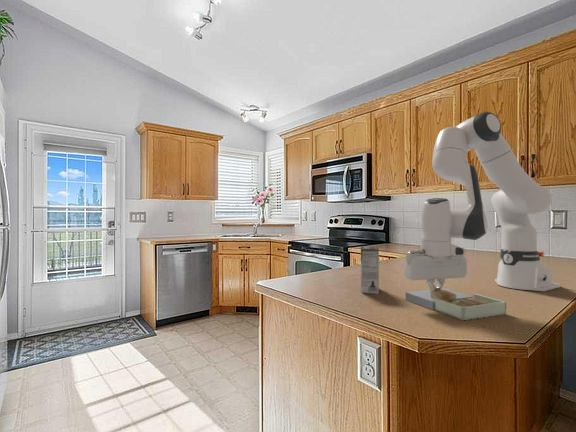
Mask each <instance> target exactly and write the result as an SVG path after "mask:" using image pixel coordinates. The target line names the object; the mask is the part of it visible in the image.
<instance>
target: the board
mask: <svg viewBox="0 0 576 432" xmlns="http://www.w3.org/2000/svg"><path fill="white" fill-rule="evenodd" d="M442 290H446V291H449V292H451V293H454V294H456V301H457V300H461V299H468V298H473V296H471V295H468V294H465V293H461V292H458V291H454V290H451V289H447V288H445V287H444V288H443V287H442ZM405 300H406V301H407V302H410V303H413V304H416V305H418V306H421V307H424V308H426V307H427V309H429V308H430V309H429V310H432V311H435V310H434V298H432V297H431V292H430V289H424V290H415V291H414V290H413V291H406V292H405Z"/></svg>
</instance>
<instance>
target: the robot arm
mask: <svg viewBox="0 0 576 432" xmlns="http://www.w3.org/2000/svg"><path fill="white" fill-rule="evenodd" d="M501 131H502V124H501V121H500V118H499V117H498V116H497V115H496V114H494V113H492V112H490V111H484V112H480V113H478V114H476V115H475V116H472V117H470V118H468V119H466V120H464V121H462V122H460V123H459V124H458V125H455V126H448V127H445V128H443V129H442V130H440V132H439V133H438V134H437V137H436V140H435V143H434V147H433V152H432V159H431V166H432V170H433V172H434V173H435V175H437V177H438V178H441V179H443V180H445V181H448V182H452V183H454V184H455V183H456V184H459V185H461V186H463V187H465V189H466V195H467V202H468V207H465V208H451V204H450V201H449V199H447V198H443V197H435V198H433V197H432V198H428V199H425V200H423V203H422V208H421V217H420V227H421V237H420V249H411V250H410V251H408V252H407V253H406V255H405V259H406V261H405V266H404V276H405V278H406V279H408V280H409V281H410V280H411V281H425V280H426V283H427V285H428V286H429V290H430V292H431V291H434V290H442V288H443V286H444V284H445V283H446V280H447V279H463V278H465V277H466V276H467V275H468V274H467V273H468V262H467V258H466V254H467V249H466V248H464V247H461V246H458V245H456V244H453V243H452V239H465V240H472V241H473V240H474V241H477V240H479V239H480V238H482V237H483V236H484V235H486V234H487V232H488V231H487V230H488V219H487V215H486V213H485V211H484V205H483V204H484V203H483V199H482V193H481V188H480V187H481V185H480V182H479V176H478V172H477V170H476V167H475V166H474V165H472V164H470V163H469V162H468V158H467V156H468V155H467V153H468V152H470V151H473V150H474V151H475V154H476V157H477V159H478V161H479V163H480V165H481V167H482V169H483V171H484V172H485V174H486V176H487V178H488V180H489V181H490V182H491V183H493V184H494V185H496V186H497V187H498V188H499V189H500V190H498V191H496V192H494V193H493V195H492V196H491V199H490V204H491V207H492V209H493V210H494V211H495V212H496V214H497V217H498V221H499V224H500V230H501V249H500V251H499V254H500V256H499V258H500V261H499V262H498V267H497V275H496V276H497V277H496V278H495V279H494V282H496V284H497V286H501V287H504V288H510V289H514V290H525V291H537V292H547V291H551V290H555V289H558V288H561V284H560V283H558V282H555V281H554V279H553V273H552V270H551V269H549V268H548V267H547V266H546V265H545V264H544V263H543V262H542V261H541V259H540V258H541V257H542V258H543V257H545V252H544V251H539V250H537V237H538V236H537V234H538V232H537V229H536V228H535V227H534V226H533V225H532V222H531V221H530V218H529V215H530V216H531V215H537V214H540V213H543V212H546V211H547V210H549V208H550V207H551V205H552V203H553V196H552V193H551V192H550V190H549V189H548V188H546V187H544V186H542V185H541V184H539V183H537V182H536V181H535V180H534V179H533V178H532V177H531V176H530V175H529V174H528V173H527V172H526V171H525V169H524V168H523V167H522V166H521V164H520V162H519V161H518V159H517V157H516V155H515V154H514V151H513V150H512V147H511V145H509V143H508V142H507V140H506V139H505V137H504V136H503V135H502V133H501ZM435 281H437V283H436V282H435ZM435 283H436V286H435Z"/></svg>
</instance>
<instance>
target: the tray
mask: <svg viewBox="0 0 576 432" xmlns="http://www.w3.org/2000/svg"><path fill="white" fill-rule="evenodd" d="M472 295H473V296H472V297H473V298H472V299H476V300H480V301H483V302H486V304H482V305H475V306H468V307H461V306H459V300H457V301H450V302H446V301H443V300H440V299H437V298H434V310H433V311H436V312H437V313H438V312H439V313H441V314H444V315H446V314H447V316H449V315H450V316H449V317H452V318H454V317H455V318H454V319H457V318H458V319H457V320H459V319H460V321H462V320H463V322H464V320H466V321H470V319H472V320H478V319H477V318H479V319H484V318H483V317H485V318H491V317H495V316H496V317H497V316H503V315H507V302H506V301H505V300H500V299H497V298H493V297H489V296H486V295H485V296H484V295H481V294H478V293H472ZM490 316H491V317H490Z"/></svg>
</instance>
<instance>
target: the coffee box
mask: <svg viewBox="0 0 576 432" xmlns="http://www.w3.org/2000/svg"><path fill="white" fill-rule="evenodd" d="M378 247H379V246H360V289H361V291H360V292H361V294H375V295H377V294H378V295H379V293H380V292H379V289H380V288H379V286H380V285H379V283H380V282H379V276H380V275H379V273H380V271H379V267H380V266H379V265H380V261H379V260H380V259H379V258H380V255H379V254H380V253H379V248H378Z"/></svg>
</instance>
